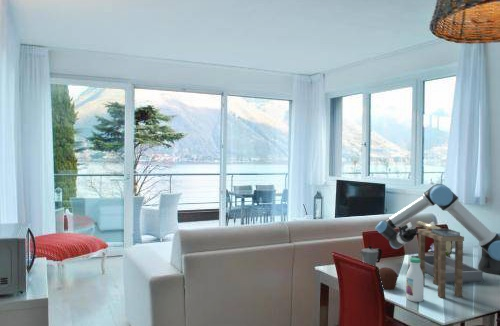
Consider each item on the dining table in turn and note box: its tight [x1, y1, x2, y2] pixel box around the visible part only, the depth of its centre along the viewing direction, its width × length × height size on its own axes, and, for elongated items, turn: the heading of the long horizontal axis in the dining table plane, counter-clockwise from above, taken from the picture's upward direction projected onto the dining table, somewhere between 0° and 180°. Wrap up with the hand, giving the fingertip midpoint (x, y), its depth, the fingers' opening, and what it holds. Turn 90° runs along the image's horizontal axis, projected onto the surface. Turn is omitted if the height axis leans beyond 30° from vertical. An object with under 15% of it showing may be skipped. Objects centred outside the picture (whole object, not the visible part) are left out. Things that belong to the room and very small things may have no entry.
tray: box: [410, 254, 484, 285], centre depth 229 cm, size 35×22×6 cm, turn 7°
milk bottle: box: [405, 257, 425, 303], centre depth 188 cm, size 8×8×20 cm
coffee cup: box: [446, 241, 453, 254], centre depth 281 cm, size 9×9×12 cm
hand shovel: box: [416, 220, 461, 237], centre depth 205 cm, size 29×9×3 cm, turn 7°
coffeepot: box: [360, 244, 383, 267], centre depth 224 cm, size 15×9×18 cm, turn 113°
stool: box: [417, 228, 465, 299], centre depth 200 cm, size 21×12×30 cm, turn 7°
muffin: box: [378, 267, 399, 291], centre depth 205 cm, size 12×11×10 cm
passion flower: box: [427, 242, 450, 257], centre depth 269 cm, size 11×11×12 cm
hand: (422, 224), depth 215 cm, fingers open, 13 cm apart
